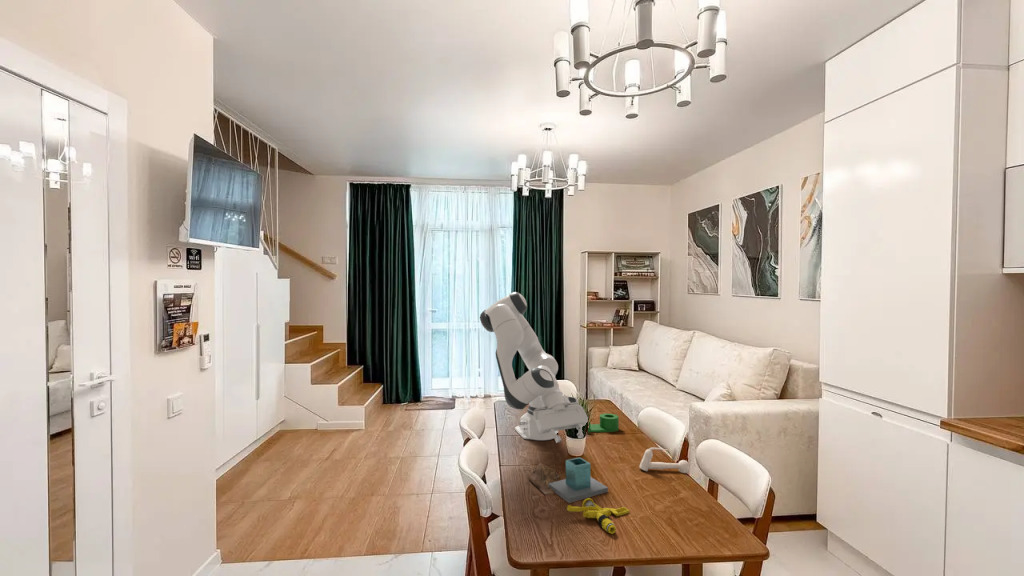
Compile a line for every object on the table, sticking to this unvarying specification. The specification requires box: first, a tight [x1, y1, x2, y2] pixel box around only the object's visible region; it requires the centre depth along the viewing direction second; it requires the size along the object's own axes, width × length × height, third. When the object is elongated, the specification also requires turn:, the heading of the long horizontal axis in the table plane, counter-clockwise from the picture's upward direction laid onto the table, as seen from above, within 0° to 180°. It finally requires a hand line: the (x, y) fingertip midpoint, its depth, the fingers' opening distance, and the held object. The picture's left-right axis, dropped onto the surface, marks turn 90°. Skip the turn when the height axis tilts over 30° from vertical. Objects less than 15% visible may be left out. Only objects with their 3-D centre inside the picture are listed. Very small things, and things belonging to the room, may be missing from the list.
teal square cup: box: [565, 456, 591, 491], centre depth 144 cm, size 6×6×8 cm
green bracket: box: [587, 413, 620, 434], centre depth 208 cm, size 18×9×6 cm, turn 97°
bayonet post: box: [548, 476, 609, 504], centre depth 144 cm, size 12×16×8 cm
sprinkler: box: [566, 497, 630, 535], centre depth 125 cm, size 19×4×15 cm
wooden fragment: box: [529, 462, 560, 496], centre depth 153 cm, size 26×11×1 cm, turn 178°
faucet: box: [639, 447, 691, 474], centre depth 160 cm, size 4×18×10 cm, turn 86°
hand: (570, 439), depth 151 cm, fingers open, 8 cm apart
